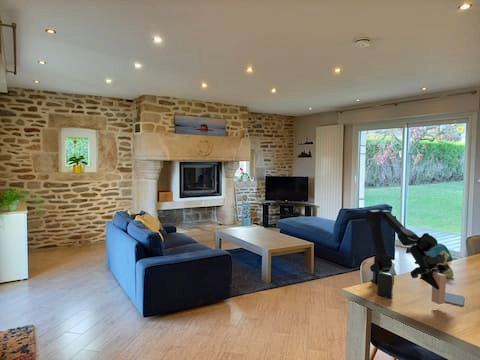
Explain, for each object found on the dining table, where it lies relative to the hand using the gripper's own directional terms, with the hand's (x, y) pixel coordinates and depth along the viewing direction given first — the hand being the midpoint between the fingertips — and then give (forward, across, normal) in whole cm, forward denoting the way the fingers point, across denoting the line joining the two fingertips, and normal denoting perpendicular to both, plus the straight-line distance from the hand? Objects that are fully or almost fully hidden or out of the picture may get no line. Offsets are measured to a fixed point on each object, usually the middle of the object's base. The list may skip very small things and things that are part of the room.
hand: (441, 288), depth 144 cm
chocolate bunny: (-16, +43, +30) cm, 54 cm away
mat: (+2, +17, +11) cm, 20 cm away
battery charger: (-7, -11, +21) cm, 25 cm away
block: (+4, 0, +6) cm, 7 cm away
